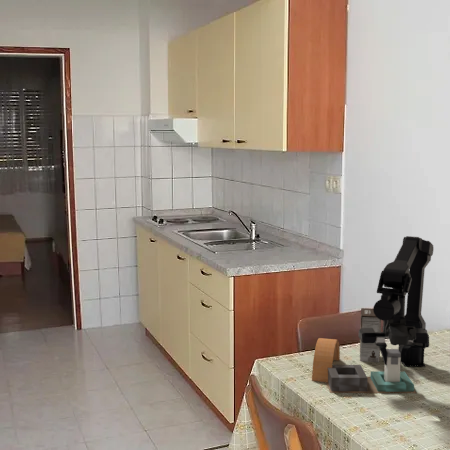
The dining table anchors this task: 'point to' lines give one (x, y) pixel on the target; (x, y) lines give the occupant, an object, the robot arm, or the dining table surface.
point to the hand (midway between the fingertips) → (392, 364)
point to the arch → (324, 358)
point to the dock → (364, 381)
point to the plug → (392, 366)
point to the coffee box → (369, 350)
